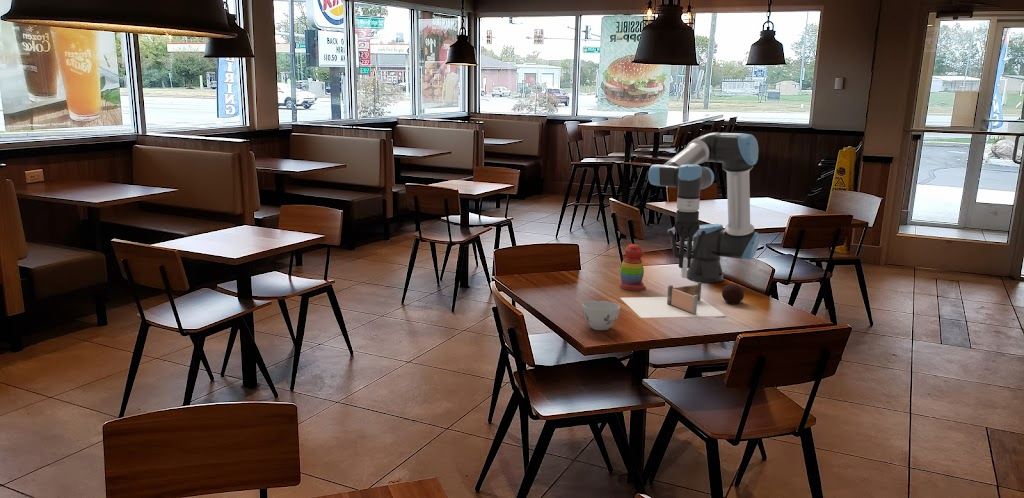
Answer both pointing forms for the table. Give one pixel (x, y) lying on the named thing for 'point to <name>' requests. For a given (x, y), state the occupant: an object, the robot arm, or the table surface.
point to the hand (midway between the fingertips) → (683, 276)
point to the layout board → (667, 308)
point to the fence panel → (684, 301)
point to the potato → (733, 293)
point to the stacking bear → (632, 269)
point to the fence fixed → (685, 291)
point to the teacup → (600, 314)
